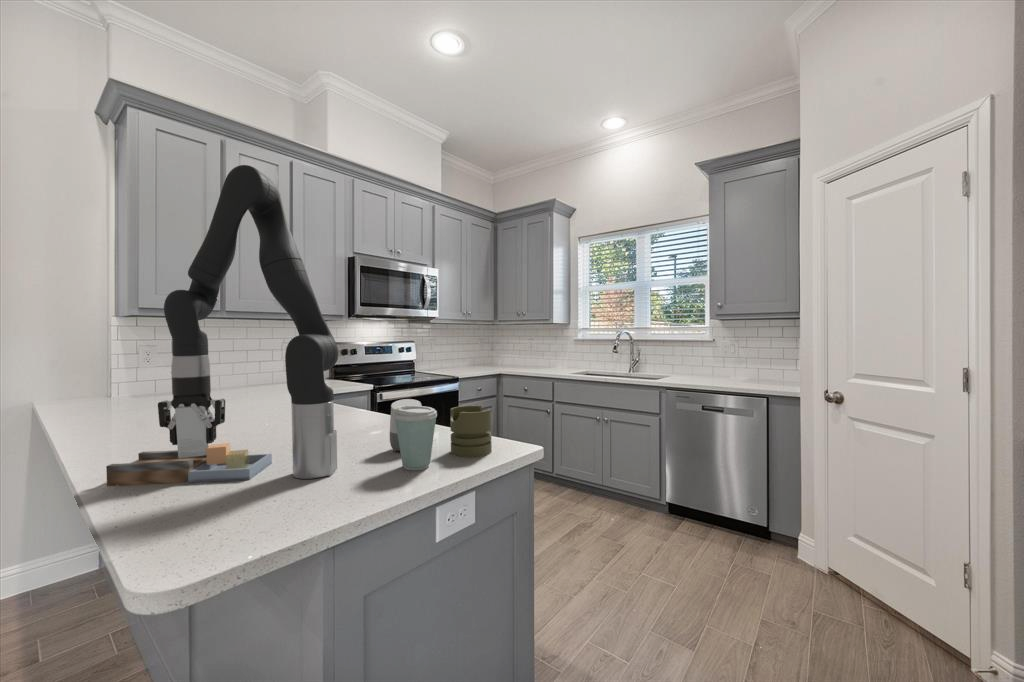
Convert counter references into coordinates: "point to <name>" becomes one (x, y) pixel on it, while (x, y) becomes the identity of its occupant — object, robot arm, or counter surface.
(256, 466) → the tray
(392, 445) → the smart speaker
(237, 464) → the olive yellow cube
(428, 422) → the disposable coffee cup
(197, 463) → the slotted board
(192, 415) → the skincare box
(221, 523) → the counter surface
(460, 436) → the piston
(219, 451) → the orange cube
